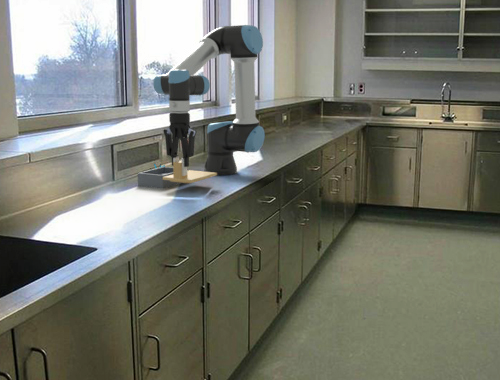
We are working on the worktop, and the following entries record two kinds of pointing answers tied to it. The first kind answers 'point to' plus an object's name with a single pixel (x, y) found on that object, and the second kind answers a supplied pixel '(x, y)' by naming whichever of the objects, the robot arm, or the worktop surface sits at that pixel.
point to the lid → (191, 175)
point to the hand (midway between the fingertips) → (180, 174)
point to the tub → (156, 178)
